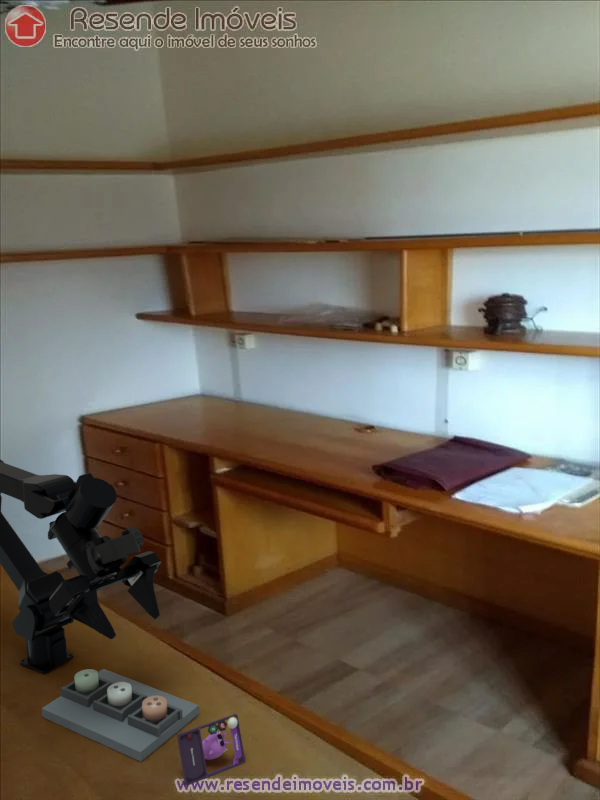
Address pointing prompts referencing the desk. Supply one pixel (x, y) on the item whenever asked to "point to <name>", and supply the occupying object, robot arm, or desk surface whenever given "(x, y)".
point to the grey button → (119, 694)
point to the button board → (119, 716)
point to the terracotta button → (154, 708)
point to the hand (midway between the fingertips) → (136, 627)
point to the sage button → (86, 680)
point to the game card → (208, 748)
